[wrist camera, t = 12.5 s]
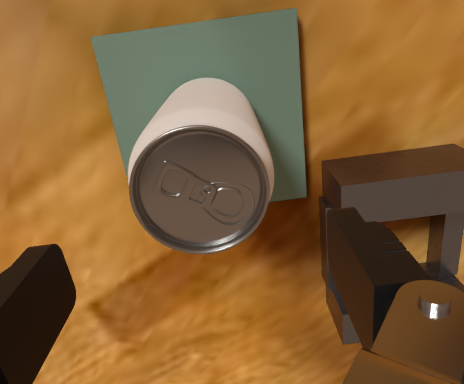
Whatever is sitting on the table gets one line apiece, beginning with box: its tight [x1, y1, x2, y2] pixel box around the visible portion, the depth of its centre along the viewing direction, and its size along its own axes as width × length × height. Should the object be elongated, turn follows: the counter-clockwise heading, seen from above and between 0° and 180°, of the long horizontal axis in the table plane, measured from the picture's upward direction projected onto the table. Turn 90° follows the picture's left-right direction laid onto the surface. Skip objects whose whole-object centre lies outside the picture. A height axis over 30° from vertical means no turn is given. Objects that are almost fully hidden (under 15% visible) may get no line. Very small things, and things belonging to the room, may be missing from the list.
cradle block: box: [319, 144, 464, 345], centre depth 29 cm, size 11×14×5 cm
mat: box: [91, 8, 307, 202], centre depth 26 cm, size 13×13×1 cm
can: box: [128, 78, 274, 254], centre depth 20 cm, size 6×6×12 cm
